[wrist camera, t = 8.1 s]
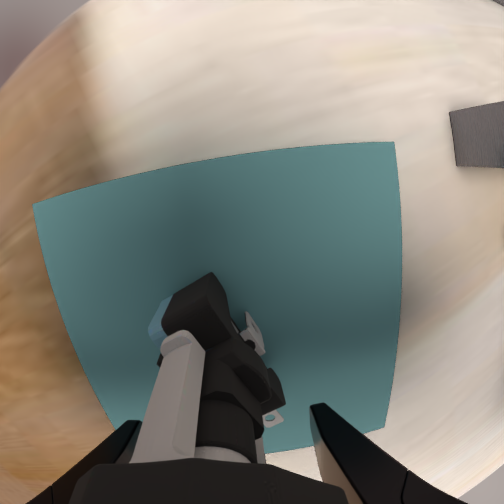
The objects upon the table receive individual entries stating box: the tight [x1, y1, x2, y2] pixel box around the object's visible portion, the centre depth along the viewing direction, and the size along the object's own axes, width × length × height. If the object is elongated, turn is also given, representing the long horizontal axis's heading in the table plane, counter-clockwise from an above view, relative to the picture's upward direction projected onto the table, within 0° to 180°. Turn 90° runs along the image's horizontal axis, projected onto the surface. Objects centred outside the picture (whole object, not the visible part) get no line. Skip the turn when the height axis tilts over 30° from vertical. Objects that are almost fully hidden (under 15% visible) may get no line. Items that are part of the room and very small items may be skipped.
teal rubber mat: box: [32, 142, 402, 454], centre depth 12 cm, size 14×14×1 cm
